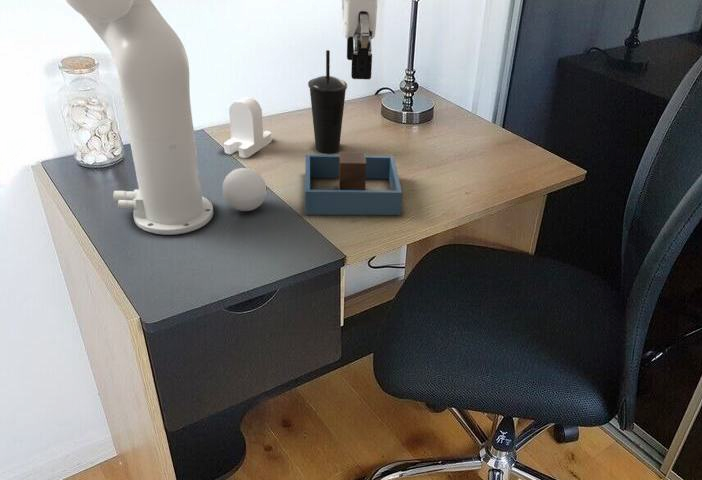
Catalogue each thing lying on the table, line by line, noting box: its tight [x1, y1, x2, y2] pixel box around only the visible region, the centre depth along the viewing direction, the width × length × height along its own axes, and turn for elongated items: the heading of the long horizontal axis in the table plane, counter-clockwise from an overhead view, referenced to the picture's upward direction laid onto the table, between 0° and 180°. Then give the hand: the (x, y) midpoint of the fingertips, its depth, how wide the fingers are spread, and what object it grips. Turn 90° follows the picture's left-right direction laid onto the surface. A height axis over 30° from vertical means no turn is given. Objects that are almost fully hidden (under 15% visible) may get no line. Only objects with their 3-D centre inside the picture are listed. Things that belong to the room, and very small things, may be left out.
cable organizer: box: [223, 96, 272, 159], centre depth 130 cm, size 5×10×10 cm, turn 159°
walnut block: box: [338, 151, 366, 190], centre depth 118 cm, size 5×5×8 cm
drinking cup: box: [307, 49, 348, 154], centre depth 130 cm, size 8×8×20 cm
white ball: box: [221, 167, 268, 212], centre depth 112 cm, size 10×7×7 cm
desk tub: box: [304, 154, 403, 216], centre depth 119 cm, size 17×15×4 cm
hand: (358, 68), depth 110 cm, fingers open, 9 cm apart
